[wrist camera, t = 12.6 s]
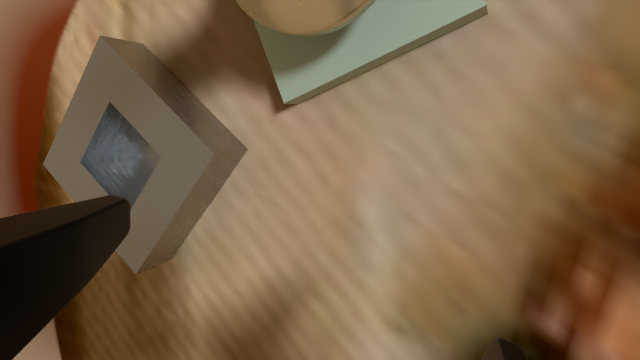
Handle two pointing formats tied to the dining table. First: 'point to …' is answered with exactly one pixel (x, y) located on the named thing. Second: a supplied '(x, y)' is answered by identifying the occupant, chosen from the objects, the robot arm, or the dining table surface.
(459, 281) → the dining table surface
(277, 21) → the metallic flared cylinder
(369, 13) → the pad
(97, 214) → the robot arm
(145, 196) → the bore block
